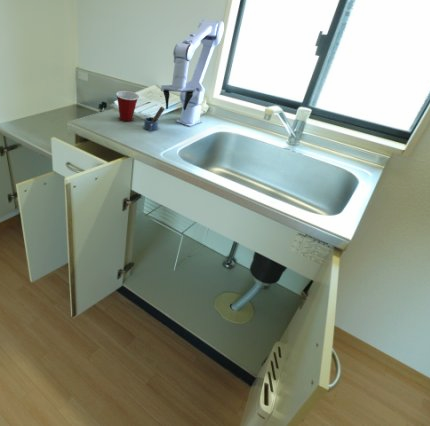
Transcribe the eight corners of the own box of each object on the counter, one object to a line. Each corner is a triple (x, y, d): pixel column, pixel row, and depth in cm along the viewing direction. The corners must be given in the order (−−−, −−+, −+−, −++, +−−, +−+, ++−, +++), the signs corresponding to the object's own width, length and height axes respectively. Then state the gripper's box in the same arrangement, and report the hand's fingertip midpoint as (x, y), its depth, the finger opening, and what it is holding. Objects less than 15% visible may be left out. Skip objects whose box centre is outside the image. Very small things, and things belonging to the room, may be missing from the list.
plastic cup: (129, 125, 152) (131, 99, 145) (110, 119, 156) (111, 94, 149) (141, 119, 159) (143, 94, 152) (123, 114, 164) (124, 89, 157)
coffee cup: (144, 125, 153) (145, 116, 151) (157, 126, 153) (158, 117, 151) (143, 131, 146) (143, 123, 144) (157, 133, 146) (157, 124, 144)
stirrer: (150, 124, 151) (162, 106, 145) (153, 127, 150) (165, 109, 144) (148, 124, 149) (160, 106, 144) (150, 127, 149) (162, 109, 143)
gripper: (163, 77, 131) (159, 110, 139) (199, 79, 131) (193, 112, 139) (162, 73, 137) (158, 105, 145) (196, 75, 137) (191, 107, 145)
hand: (175, 108), depth 142 cm, fingers open, 7 cm apart
